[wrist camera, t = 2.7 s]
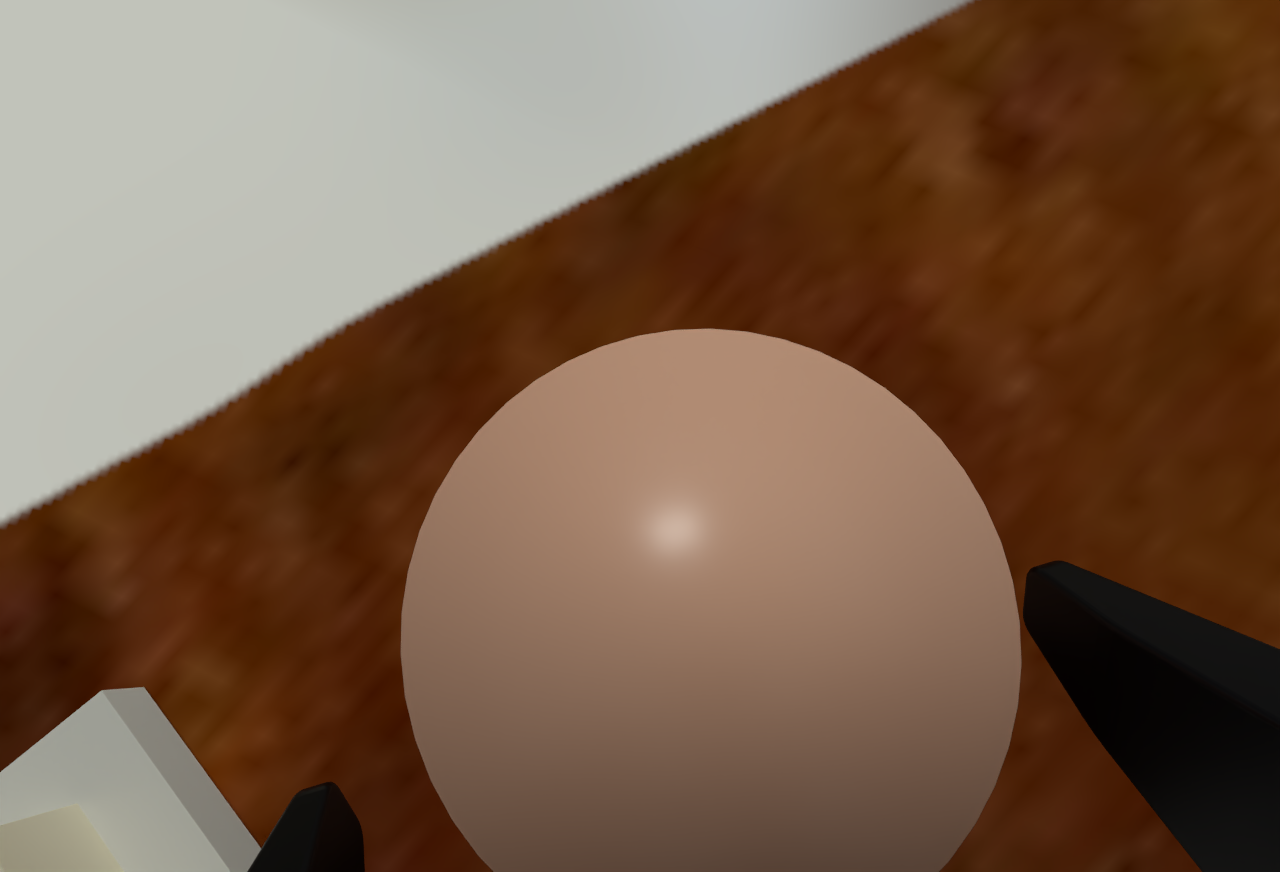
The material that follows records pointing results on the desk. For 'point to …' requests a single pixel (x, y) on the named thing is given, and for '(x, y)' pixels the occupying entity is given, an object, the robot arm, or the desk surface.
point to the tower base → (117, 798)
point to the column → (710, 621)
